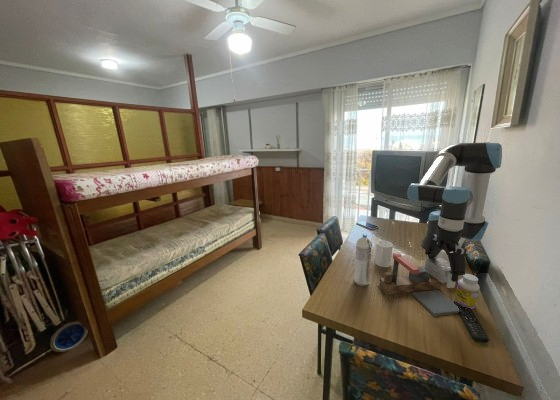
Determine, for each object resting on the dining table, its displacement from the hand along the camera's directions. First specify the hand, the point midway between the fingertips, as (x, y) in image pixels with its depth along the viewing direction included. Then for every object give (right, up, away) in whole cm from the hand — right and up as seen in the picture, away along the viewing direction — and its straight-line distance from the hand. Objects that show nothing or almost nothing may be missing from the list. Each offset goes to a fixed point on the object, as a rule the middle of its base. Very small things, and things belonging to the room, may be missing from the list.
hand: (440, 279), depth 89 cm
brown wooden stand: (-5, -8, +13) cm, 16 cm away
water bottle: (-25, -8, +18) cm, 32 cm away
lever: (-12, +5, +4) cm, 14 cm away
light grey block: (0, +2, -1) cm, 2 cm away
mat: (0, -11, +3) cm, 11 cm away
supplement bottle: (+12, -11, +2) cm, 16 cm away
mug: (-9, -4, +32) cm, 34 cm away
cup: (+18, -5, +24) cm, 31 cm away
